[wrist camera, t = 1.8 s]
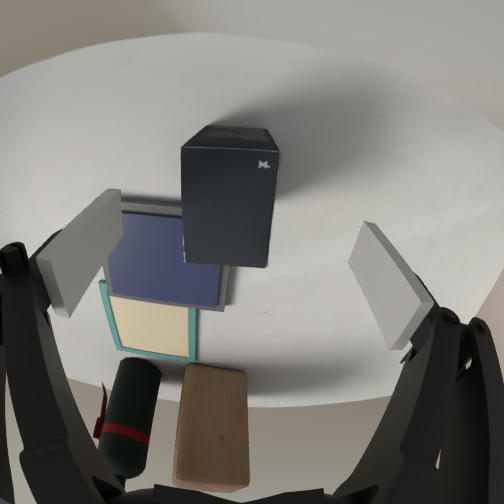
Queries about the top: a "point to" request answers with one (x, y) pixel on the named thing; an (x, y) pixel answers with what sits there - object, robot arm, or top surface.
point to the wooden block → (212, 431)
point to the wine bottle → (128, 418)
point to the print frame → (151, 327)
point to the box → (228, 195)
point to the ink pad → (160, 261)
